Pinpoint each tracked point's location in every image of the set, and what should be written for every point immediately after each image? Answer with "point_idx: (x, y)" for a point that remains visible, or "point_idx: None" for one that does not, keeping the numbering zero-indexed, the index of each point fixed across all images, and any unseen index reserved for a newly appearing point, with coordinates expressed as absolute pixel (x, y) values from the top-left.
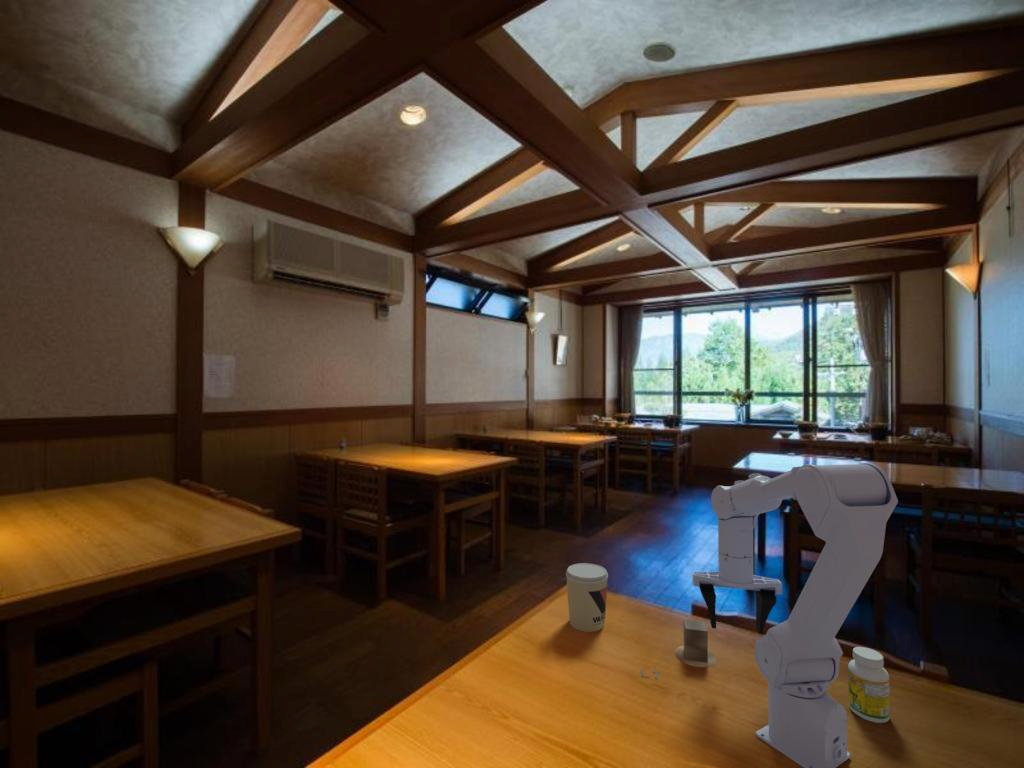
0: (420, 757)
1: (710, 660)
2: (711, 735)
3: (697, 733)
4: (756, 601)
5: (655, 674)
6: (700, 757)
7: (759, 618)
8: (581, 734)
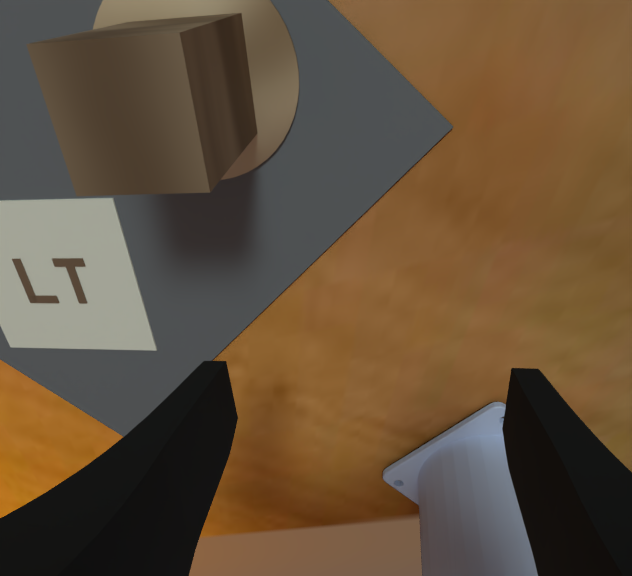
0: None
1: (270, 104)
2: (270, 478)
3: (237, 477)
4: (586, 526)
5: (71, 281)
6: (247, 529)
7: (532, 516)
8: (4, 510)
